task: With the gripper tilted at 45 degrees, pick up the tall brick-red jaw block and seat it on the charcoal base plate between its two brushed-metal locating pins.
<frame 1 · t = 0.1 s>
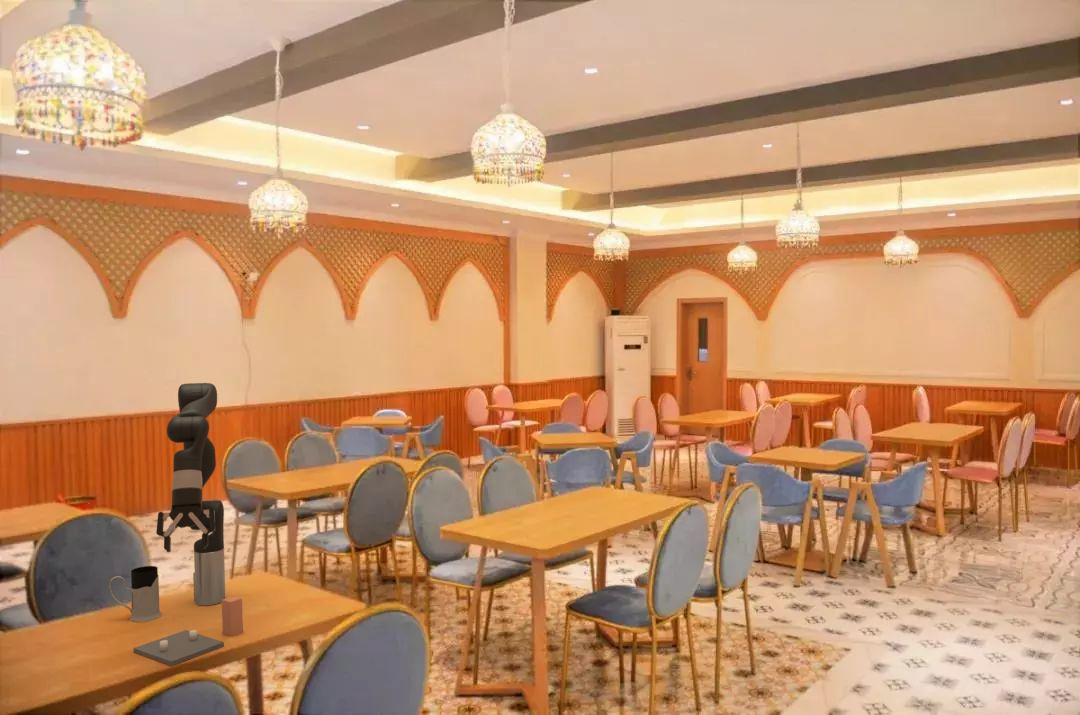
hand: (186, 550, 216), 31 cm above the table, fingers open, 8 cm apart
glass holder: (136, 618, 257), on the table
jaw block: (232, 632, 243), on the table
base plate: (179, 649, 231), on the table
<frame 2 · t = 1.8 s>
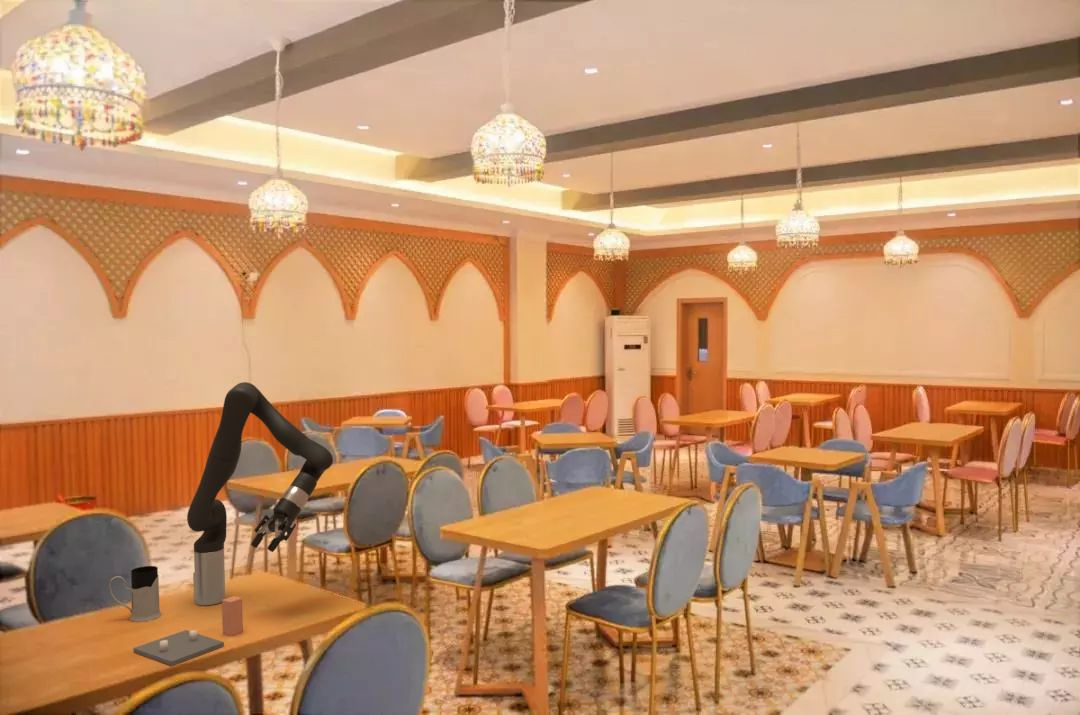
hand: (261, 548, 251), 22 cm above the table, fingers open, 8 cm apart
nothing on the table moved.
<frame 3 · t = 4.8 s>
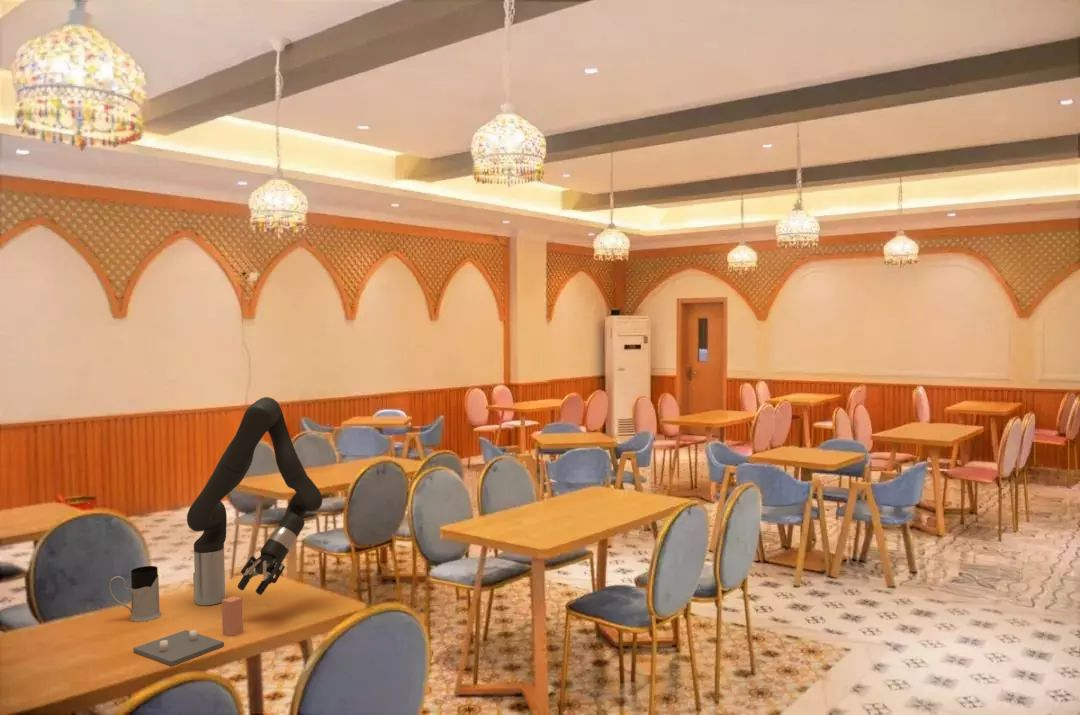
hand: (248, 591, 247), 11 cm above the table, fingers open, 8 cm apart
nothing on the table moved.
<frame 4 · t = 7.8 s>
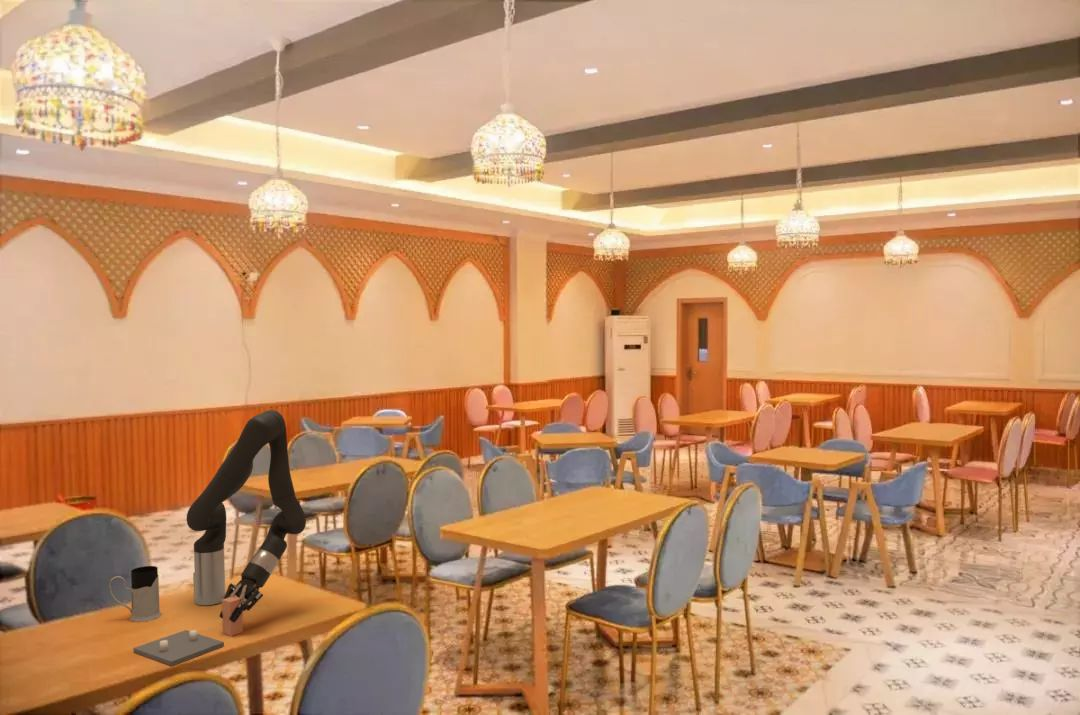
hand: (226, 619, 241), 5 cm above the table, fingers closed on jaw block, 4 cm apart
jaw block: (233, 632, 243), on the table, touching gripper
everything else where it was.
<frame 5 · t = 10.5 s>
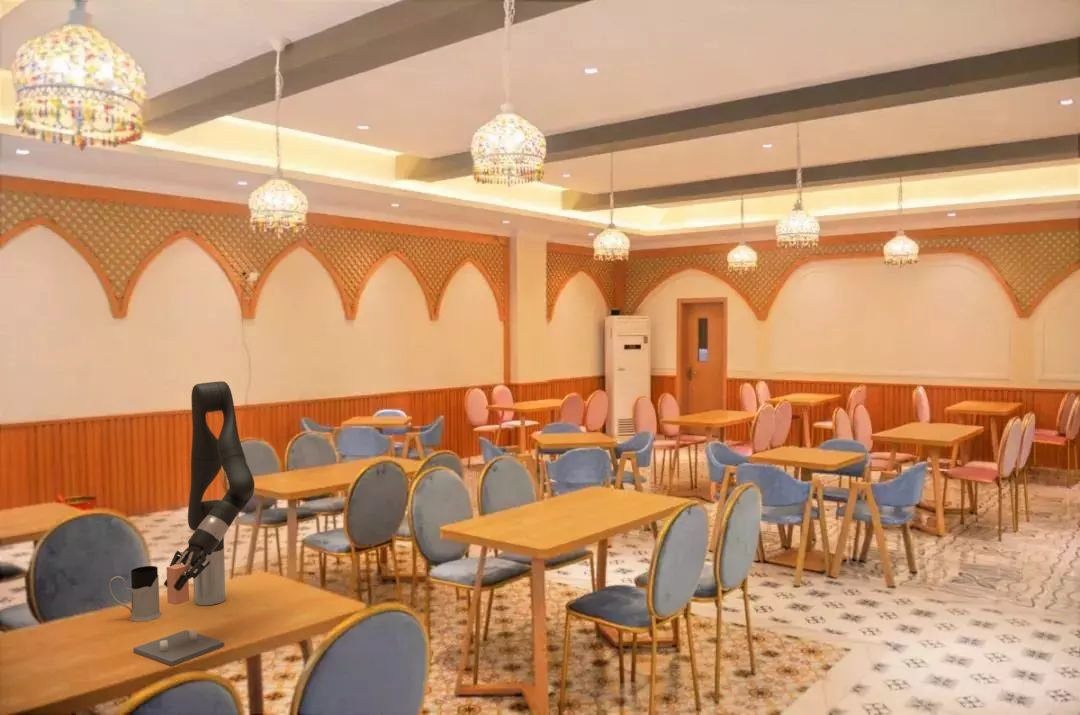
hand: (171, 587, 229), 18 cm above the table, fingers closed on jaw block, 4 cm apart
jaw block: (178, 601, 230), point 13 cm above the table, touching gripper
everything else where it was.
when the fingers open (7 cm above the table, at t = 13.5 s): jaw block stays where it is, resting on base plate.
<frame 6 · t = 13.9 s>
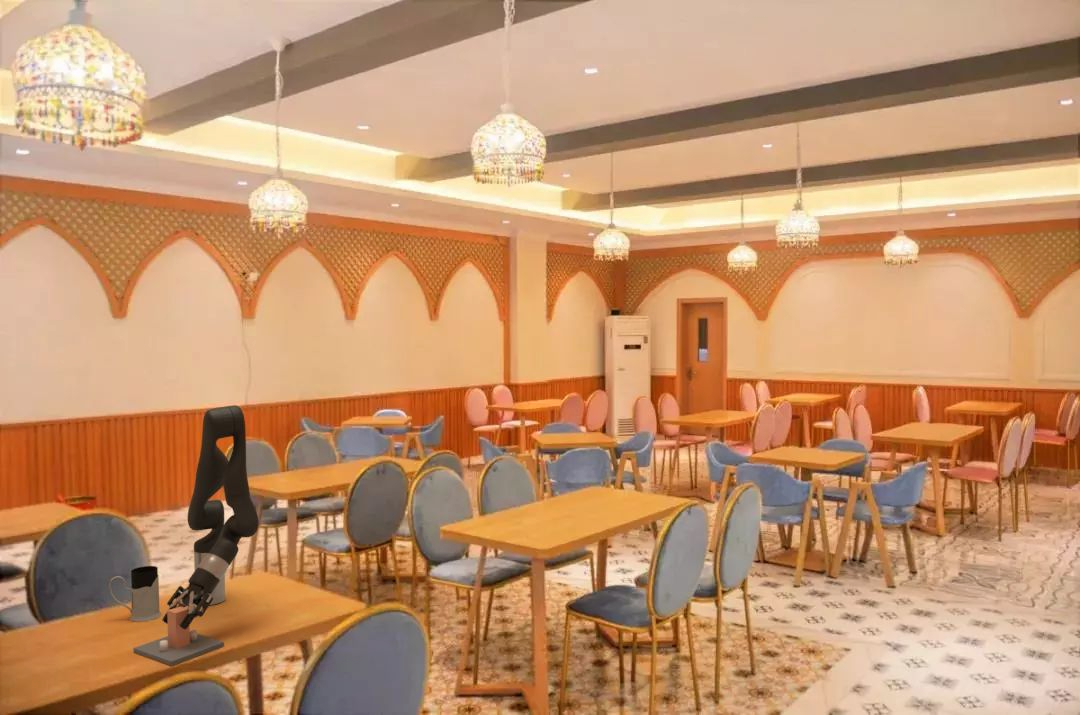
hand: (173, 625, 229), 7 cm above the table, fingers open, 8 cm apart
jaw block: (179, 645, 231), point 1 cm above the table, touching base plate
everything else where it was.
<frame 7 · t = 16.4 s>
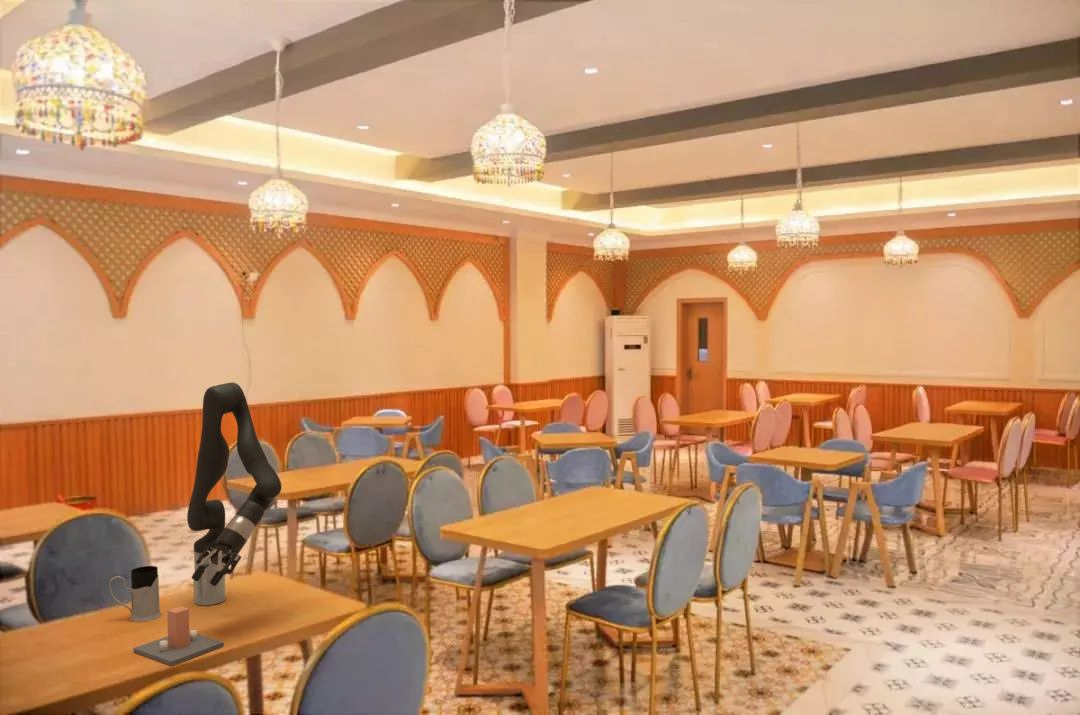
hand: (203, 582, 237), 17 cm above the table, fingers open, 8 cm apart
nothing on the table moved.
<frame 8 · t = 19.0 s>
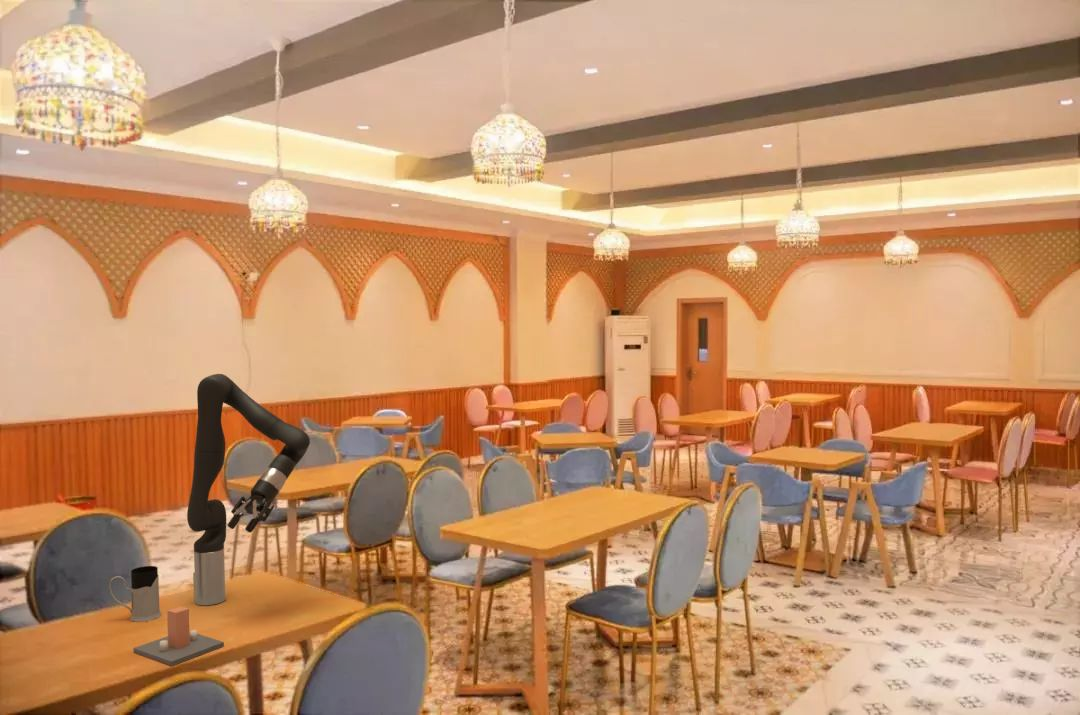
hand: (238, 529, 250), 29 cm above the table, fingers open, 8 cm apart
nothing on the table moved.
at the end: jaw block 0.0 cm off-centre on the base plate, point 1.2 cm above the base plate's base; jaw block tilted 0°; the gripper is holding nothing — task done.
